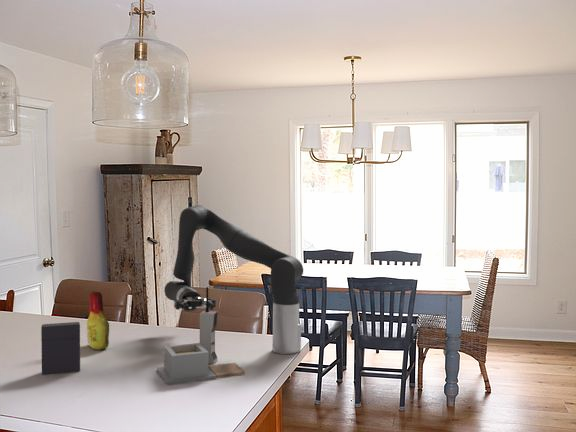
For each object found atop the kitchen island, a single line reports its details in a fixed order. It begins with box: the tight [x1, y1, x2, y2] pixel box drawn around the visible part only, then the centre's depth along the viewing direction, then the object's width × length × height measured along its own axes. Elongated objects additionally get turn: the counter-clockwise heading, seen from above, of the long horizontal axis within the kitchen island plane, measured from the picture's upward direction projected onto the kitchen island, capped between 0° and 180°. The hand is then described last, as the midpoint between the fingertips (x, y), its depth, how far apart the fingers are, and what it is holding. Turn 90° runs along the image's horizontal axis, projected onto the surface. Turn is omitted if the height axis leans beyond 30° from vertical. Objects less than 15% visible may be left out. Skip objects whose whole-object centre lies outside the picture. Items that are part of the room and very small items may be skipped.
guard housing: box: [156, 342, 217, 386], centre depth 177 cm, size 15×14×8 cm
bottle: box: [86, 291, 110, 351], centre depth 205 cm, size 12×6×20 cm, turn 39°
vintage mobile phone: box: [199, 286, 219, 365], centre depth 190 cm, size 4×5×25 cm
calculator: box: [40, 321, 81, 376], centre depth 178 cm, size 11×4×15 cm, turn 111°
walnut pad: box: [208, 362, 246, 379], centre depth 181 cm, size 9×10×1 cm
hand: (200, 307), depth 199 cm, fingers open, 8 cm apart
